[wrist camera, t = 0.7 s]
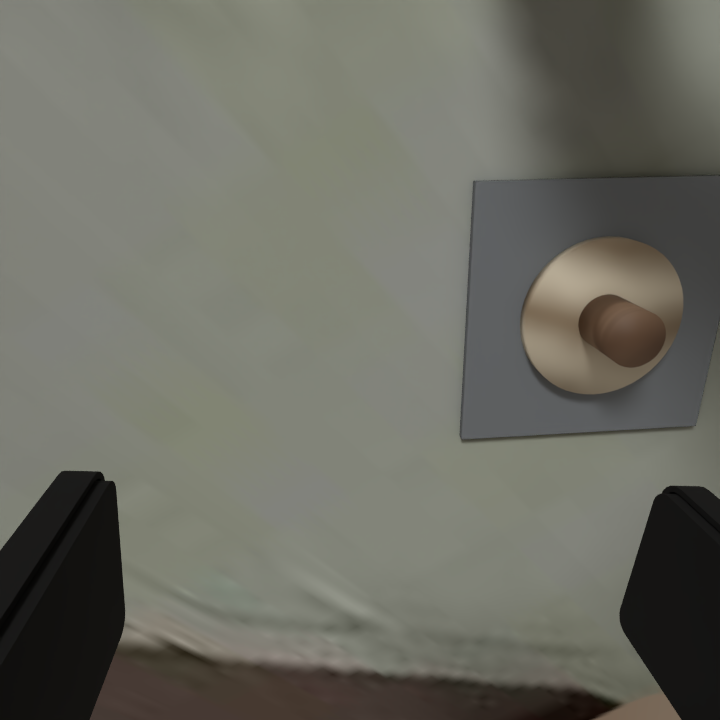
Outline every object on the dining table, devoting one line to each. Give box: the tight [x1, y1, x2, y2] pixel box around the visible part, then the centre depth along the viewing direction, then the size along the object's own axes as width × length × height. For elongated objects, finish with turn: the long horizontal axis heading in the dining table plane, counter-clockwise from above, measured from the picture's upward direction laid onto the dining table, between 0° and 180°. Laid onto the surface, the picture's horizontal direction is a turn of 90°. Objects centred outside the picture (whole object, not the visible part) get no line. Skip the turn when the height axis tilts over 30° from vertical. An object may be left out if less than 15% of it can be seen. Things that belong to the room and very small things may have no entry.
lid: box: [520, 236, 683, 394], centre depth 40 cm, size 12×12×6 cm
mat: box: [460, 175, 720, 439], centre depth 43 cm, size 20×20×1 cm
